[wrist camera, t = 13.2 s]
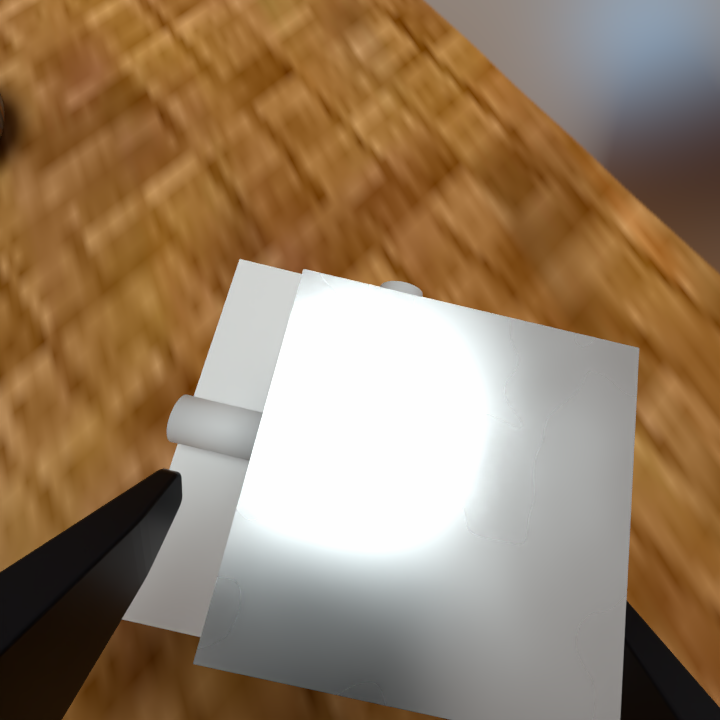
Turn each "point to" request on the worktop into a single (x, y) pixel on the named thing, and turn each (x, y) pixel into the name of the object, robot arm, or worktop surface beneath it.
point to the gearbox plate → (212, 469)
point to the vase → (1, 115)
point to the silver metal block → (434, 512)
